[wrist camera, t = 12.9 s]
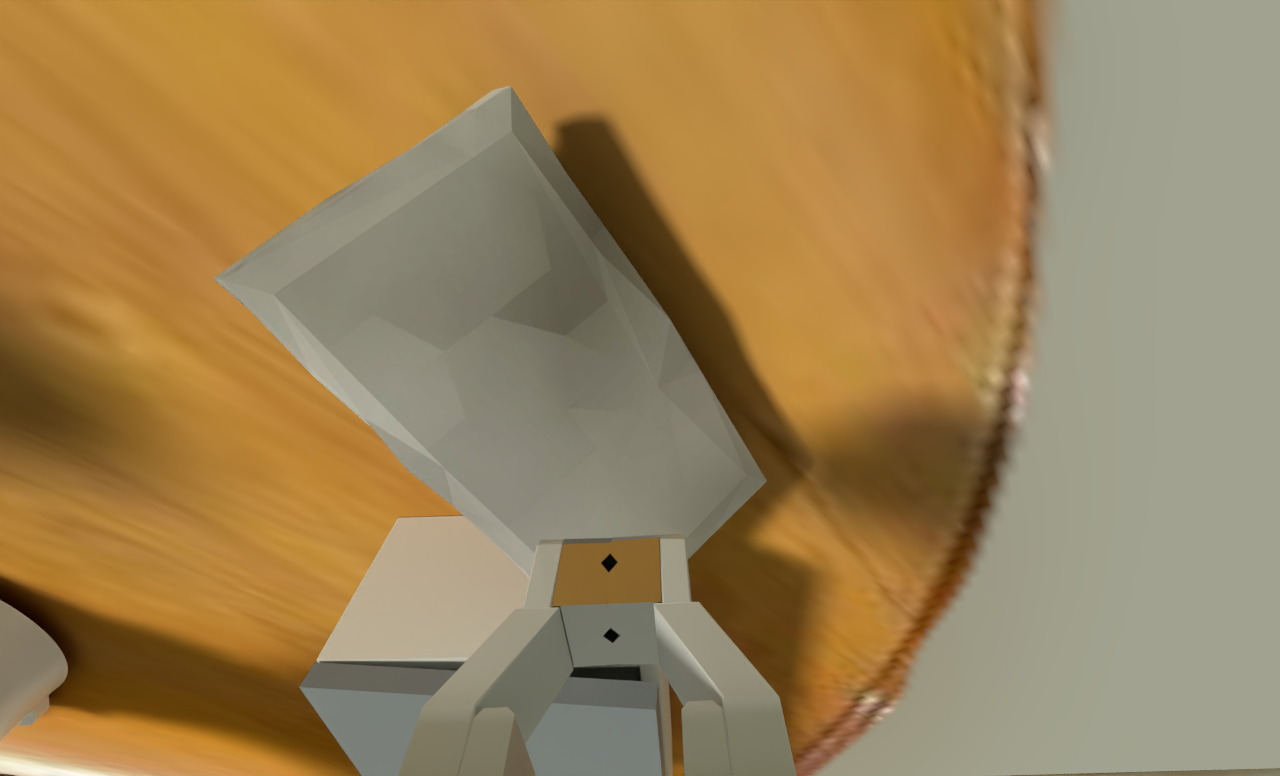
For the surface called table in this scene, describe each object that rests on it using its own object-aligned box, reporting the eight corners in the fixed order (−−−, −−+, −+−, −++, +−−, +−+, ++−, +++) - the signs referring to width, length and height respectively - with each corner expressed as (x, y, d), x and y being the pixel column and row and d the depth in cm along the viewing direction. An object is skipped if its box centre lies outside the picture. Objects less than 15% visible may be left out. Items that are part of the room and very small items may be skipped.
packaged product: (486, 113, 19) (244, 275, 17) (515, 68, 15) (198, 276, 13) (714, 449, 27) (566, 591, 25) (777, 483, 23) (604, 657, 21)
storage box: (485, 730, 40) (450, 868, 33) (398, 517, 28) (316, 660, 21) (671, 728, 39) (675, 869, 32) (657, 509, 28) (658, 654, 21)
